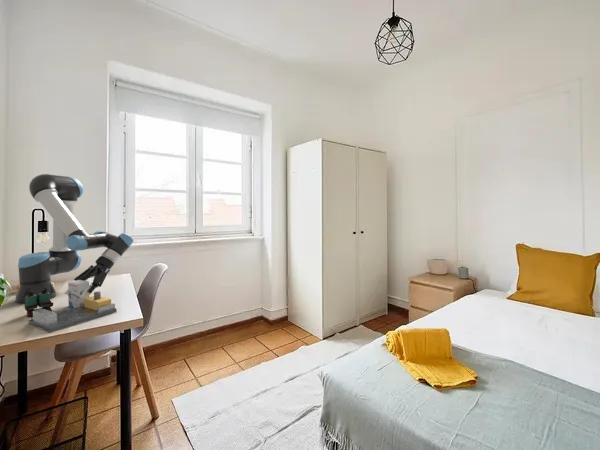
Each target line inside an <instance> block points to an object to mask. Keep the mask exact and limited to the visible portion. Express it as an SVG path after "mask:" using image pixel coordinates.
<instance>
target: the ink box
mask: <svg viewBox="0 0 600 450" xmlns="http://www.w3.org/2000/svg"><path fill="white" fill-rule="evenodd" d="M89 285H90V281H89V280H85V281H84V280H76V281H75V280H72V281H68V282H67V287H68V288H67V290H68V295H67V297H68V307H70V308H76V307H80V303H81V302H84V300H83V299H82V298H80V296H81V294H82V293H83V292H84V291H85V290H86V289H87V288H88V287H89ZM88 297H90V295H89V296H88ZM88 297H87V298H88Z"/></svg>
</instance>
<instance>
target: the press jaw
mask: <svg viewBox="0 0 600 450" xmlns="http://www.w3.org/2000/svg"><path fill="white" fill-rule="evenodd" d="M101 294H102V293H101V291H100V290H98V291H93V296H92V295H91V296H89V297H88V298H84V307H86V308H90V309H93V310H97V308H98V307H102V306H106V305H109V304H112V299H111V298H109V297H105V296H102V295H101Z"/></svg>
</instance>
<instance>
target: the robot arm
mask: <svg viewBox="0 0 600 450" xmlns="http://www.w3.org/2000/svg"><path fill="white" fill-rule="evenodd" d="M28 188H29V193H30V195H31V197H32V198H33V199H34V201H36V202H38V203H39V204H41V205H42V207H43V208H44V210H45V211H46V212H47V213H48V215H50V217H51V218H52V219H53V220H52V246H51V247H50V248H49V249H48V251H39V252H32V253H28V254H25V255H21V256H20V257H19V258H18V265H17V267H18V277H19V280H18V281H19V286H18V290H17V293H16V295H15V298H14V299H15V303H17V304H25V297H26V296H28V294H27V291H34V293H33V294H36V295H37V294H39V293H42V291H41V290H42V289H44V288H47V292H49V294H50V299H53V298H54V297H56V296H57V292H56V289H55V288H54V285H53V284H52V280H51V278H52V277H51V276H54V275H59V274H60V275H61V274H64V273H65V274H66V273H70V272H73V271H75V270H77V269H79V267H80V266H81V262H82V256H81V253H80V252H79V251H85V250H90V249H91V250H93V249H99V248H106V249H105V250H104V252H102V253H101V255H100V256H99V257H98V258H97V259H96V260H95V265H93V264H91V265H90V266H89V267H88V268H86V269H85V270H84V271H83V272H81V273H80V274H79V275H77V276H76V277H75V278H73V281H76V280H84V281H88V279H90V278H92V277H93V280H92V282H91V283H90V284H89V287H88V288H87V289H86V290H85V291H84V292H83V293H82V294H81V296H80V298H82V299H83V300H84V298H87V297H88V296H89V297H90V295H91V294H92V293H94V292H95V291H94V290H95V289H97V288H98V287H99V288H101V287H102V286H103V283H104V281H105V280H106V278H107V275H108V274H109V272H111V269H112V268H113V267H114V265H115V264H116V263H117V262H118V261H119V260H120V258H121V257H122V256H123V255H124V254H125V253H126V252H127V250H128V249H129V248H131V246H132V244H133V243H134V239H133V237H132V236H130V235H129V234H127V233H125V232H124V233H123V232H122V233H120V234H119V235H115V234H112V233H109V232H106V231H104V230H97V231H95V232H93V233H88V232H87V231H86V230H85V229H84V227H83V226H82V225H81V223H80V222H79V221H78V220H77V218H76V217H75V216H74V213H75V212H74V209H75V204H76V203H77V202H78V199H79V198H81V197H82V196H83V193H84V187H83V184H82V183H81V182H80V180H79V179H77V178H75V177H70V176H66V175H65V176H63V175H55V174H49V173H44V174H43V173H42V174H39V175H36V176H35V177H33V178H32V179H31V181H30V182H29V187H28ZM64 294H65V295H66V296H68V289H67V290H66V291H65V292H64Z"/></svg>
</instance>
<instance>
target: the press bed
mask: <svg viewBox="0 0 600 450" xmlns="http://www.w3.org/2000/svg"><path fill="white" fill-rule="evenodd" d="M38 309H39V310H35V311H33V317H32V318H31V319H28V320H27V321H28V322H27V323H28V325H31V326H33V327H35V328H37V329H40V330H43V331H46V332H48V333H53V332H55V331H59V330H62V329H66V328H68V327H72V326H75V325H78V324H81V323H84V322H89V321H91V320H95V319H97V318H101V317H105V316H107V315H110V314H114V313H117V308H116V304H115V303H111V304H109V305H106V306H102V307H98V308H97V310H93V309H90V308H86V307H84V302H81V303H80V307H76V308H73V307H71V308H70V309H66V310H61V311H58V312H54V311H52V312H51V311H48V310H45V309H40V308H38Z"/></svg>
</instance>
